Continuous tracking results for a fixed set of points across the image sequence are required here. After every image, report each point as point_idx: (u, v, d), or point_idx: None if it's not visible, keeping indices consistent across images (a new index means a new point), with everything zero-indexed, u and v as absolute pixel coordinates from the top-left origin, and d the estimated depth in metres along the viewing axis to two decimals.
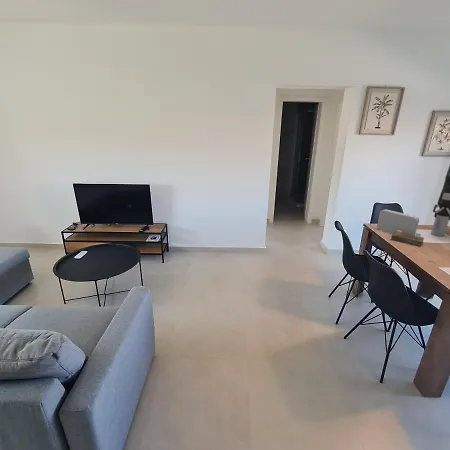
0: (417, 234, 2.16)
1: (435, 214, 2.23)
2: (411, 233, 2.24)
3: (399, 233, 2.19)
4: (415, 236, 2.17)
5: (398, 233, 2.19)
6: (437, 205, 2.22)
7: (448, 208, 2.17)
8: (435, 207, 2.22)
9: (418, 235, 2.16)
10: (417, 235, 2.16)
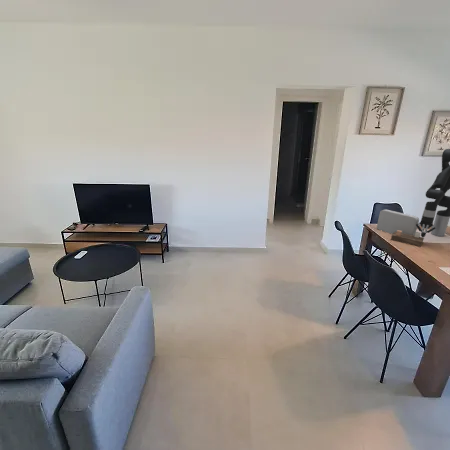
0: (416, 234, 2.16)
1: (421, 233, 2.15)
2: (411, 233, 2.24)
3: (399, 233, 2.19)
4: (414, 236, 2.18)
5: (398, 233, 2.19)
6: (418, 223, 2.15)
7: (428, 226, 2.10)
8: (418, 226, 2.15)
9: (417, 235, 2.16)
10: (416, 235, 2.17)
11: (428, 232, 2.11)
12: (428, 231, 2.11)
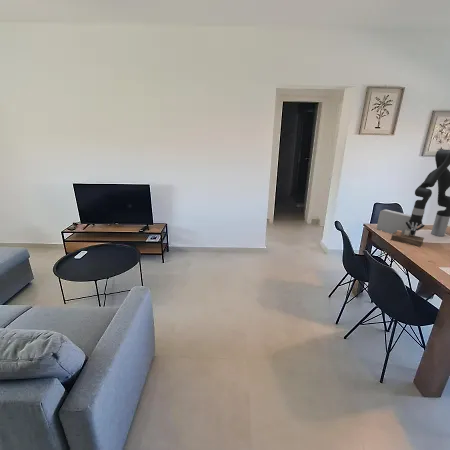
0: (406, 232, 2.21)
1: (411, 231, 2.19)
2: None
3: (399, 233, 2.19)
4: (404, 234, 2.22)
5: (398, 233, 2.19)
6: None
7: None
8: (407, 224, 2.19)
9: (407, 233, 2.20)
10: (406, 233, 2.21)
11: (417, 230, 2.16)
12: (417, 229, 2.15)
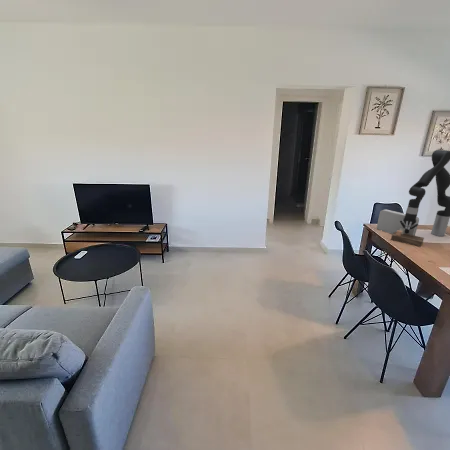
0: (400, 230, 2.23)
1: (405, 230, 2.21)
2: (411, 233, 2.24)
3: (399, 233, 2.19)
4: None
5: (398, 233, 2.19)
6: (402, 220, 2.22)
7: None
8: (402, 223, 2.21)
9: None
10: None
11: None
12: (411, 228, 2.18)
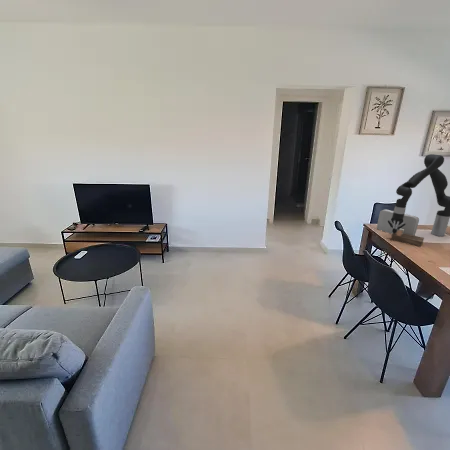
0: (400, 230, 2.23)
1: (393, 229, 2.22)
2: (411, 233, 2.24)
3: (399, 233, 2.19)
4: None
5: (398, 233, 2.19)
6: (389, 220, 2.22)
7: (399, 222, 2.18)
8: (389, 222, 2.22)
9: None
10: None
11: (399, 228, 2.19)
12: (399, 227, 2.18)
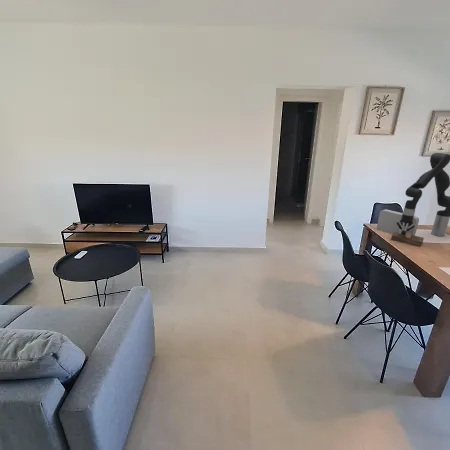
0: (400, 230, 2.23)
1: (402, 231, 2.18)
2: None
3: (409, 235, 2.15)
4: None
5: (408, 235, 2.15)
6: (398, 222, 2.18)
7: (408, 224, 2.14)
8: (398, 224, 2.18)
9: (401, 231, 2.23)
10: (400, 231, 2.23)
11: (408, 230, 2.15)
12: (408, 229, 2.15)
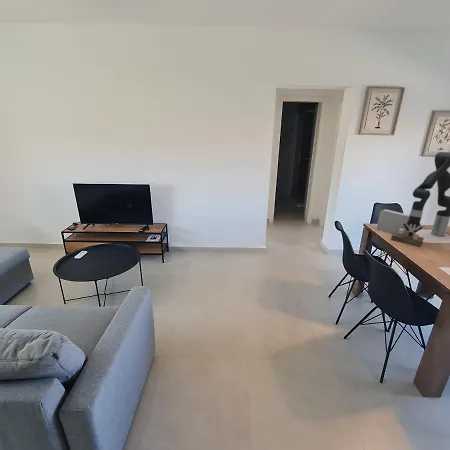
0: (400, 230, 2.23)
1: (409, 233, 2.15)
2: None
3: (416, 237, 2.12)
4: None
5: (415, 237, 2.12)
6: (405, 223, 2.15)
7: None
8: (405, 226, 2.15)
9: (401, 231, 2.23)
10: (400, 231, 2.23)
11: None
12: (415, 231, 2.12)
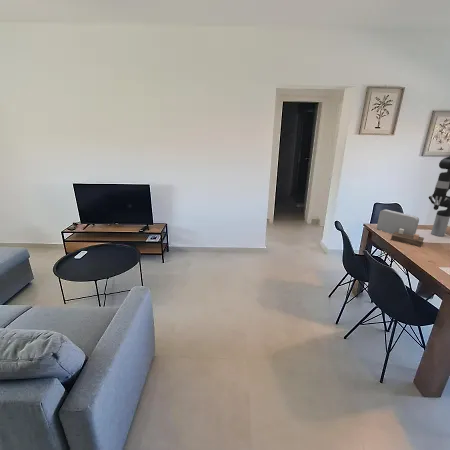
0: (400, 230, 2.23)
1: (434, 206, 2.09)
2: (411, 233, 2.24)
3: (416, 237, 2.12)
4: None
5: (415, 237, 2.12)
6: (430, 196, 2.09)
7: None
8: (430, 199, 2.09)
9: (401, 231, 2.23)
10: (400, 231, 2.23)
11: (441, 204, 2.05)
12: (441, 203, 2.05)
